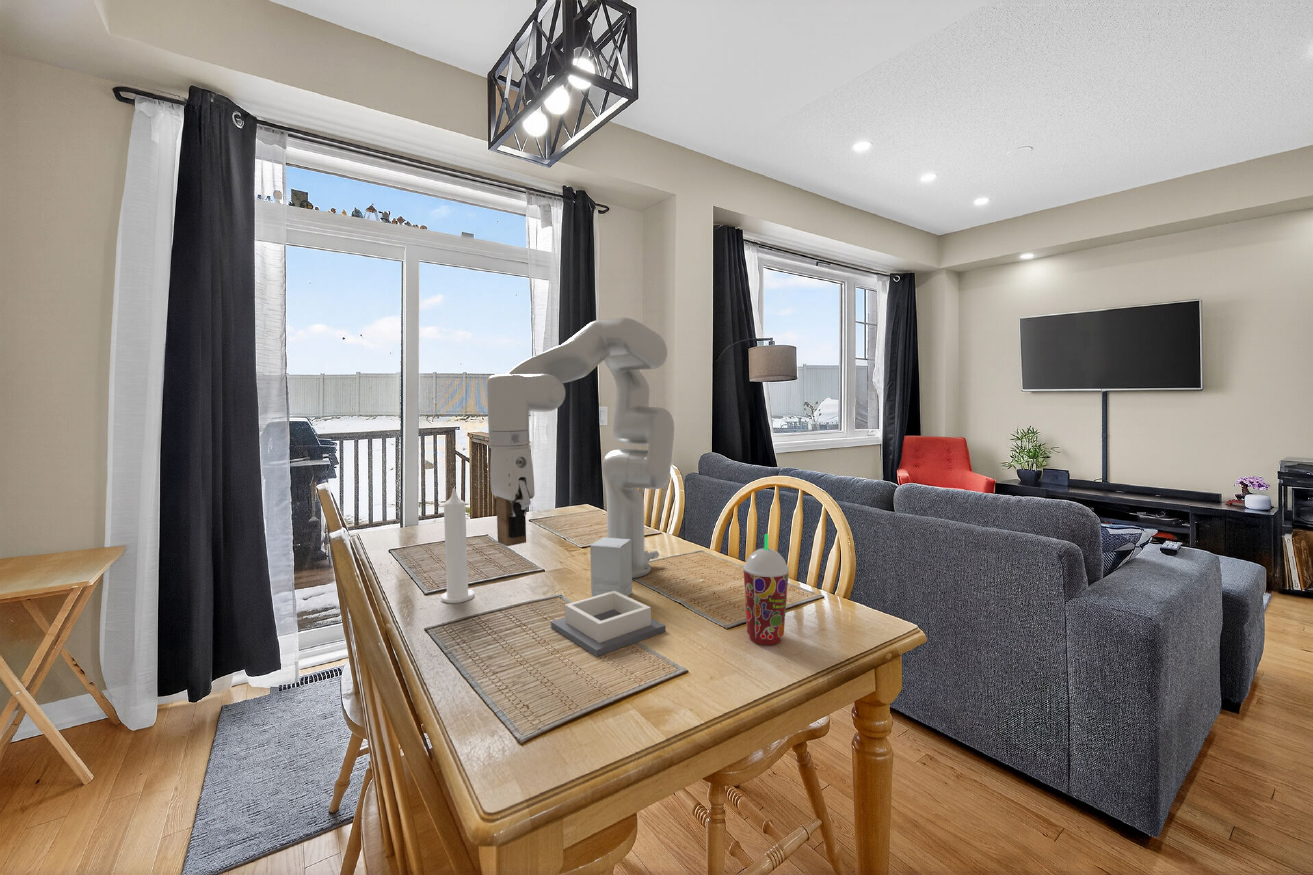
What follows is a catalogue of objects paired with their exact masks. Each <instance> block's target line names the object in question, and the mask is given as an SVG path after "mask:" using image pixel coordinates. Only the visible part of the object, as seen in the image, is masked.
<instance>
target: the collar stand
mask: <svg viewBox="0 0 1313 875" xmlns="http://www.w3.org/2000/svg"><path fill="white" fill-rule="evenodd" d="M550 628H551V629H553V630H554V631H556V632H558V633H559V634H561V635H562V634H563V637H565V636H566V637H565V638H567V639H568V640H570V641H572V642H573V643H574V644H576V645H578V646H579V645H580V646H579V647H581V648H582V647H583V648H582V649H584V650H585V649H586V650H585V651H587V652H589V653H590V652H591V653H590V654H591V655H594V656H595V657H599V656H602V655H606V654H608V653H610V652H613V651H616V650H618V648H619V649H621V648H620V647H622V648H625V647H626V646H625V645H627V646H630V645H632V644H635V643H638V642H640V641H643V640H645V639H649V638H651V637H654V636H656V635H660V634H662V633H664V632H666V624H663V623H661V622H659V621H658V620H656V619H653V618H652V607H651V606H649V605H647V604H645V603H642V602H640V601H639V600H635V599H634V598H631V597H629V596H628V597H627V596H625V595H623V594H621V593H619V592H617V591H611V592H608V593H604V594H601V595H597V596H594V597H592V596H591V597H587V598H584V599H580V600H577V601H574V602H569V603H566V604H564V617H562V618H559V619H555V620H551V621H550ZM629 644H630V645H629ZM615 649H616V650H615ZM607 652H608V653H607Z"/></svg>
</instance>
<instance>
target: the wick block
mask: <svg viewBox="0 0 1313 875" xmlns="http://www.w3.org/2000/svg"><path fill="white" fill-rule="evenodd" d="M517 499H520V496H518V497H516V499H515V500H517ZM495 502H496V526H497V527H496V528H497V529H496V530H497V533H496V534H497V543H499V544H501V545H503V546H505V547H511V546H516V545H521V544H526V543H527V534H526V535H525V536H520V537H515V538H510V537H509V517H511V515H510V506H509V501H508V500H506V499H504V498H501V497H498V496H496V499H495ZM517 504H519V503H515V507H516V505H517ZM526 516H527V514H526V515H525V520H527V518H526Z"/></svg>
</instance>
